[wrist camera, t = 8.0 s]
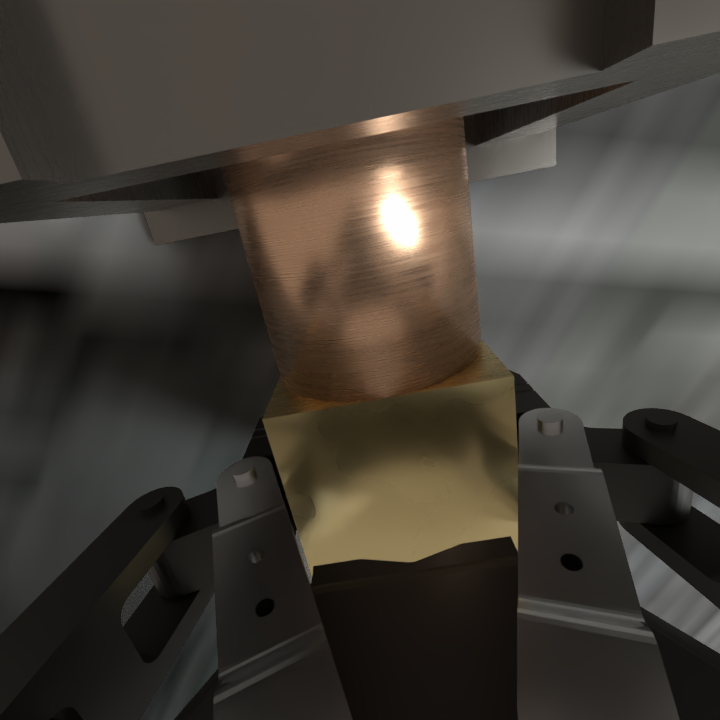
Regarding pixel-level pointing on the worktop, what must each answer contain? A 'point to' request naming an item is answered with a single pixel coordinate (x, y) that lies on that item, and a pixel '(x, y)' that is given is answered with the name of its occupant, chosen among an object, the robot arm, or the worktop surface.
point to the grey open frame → (305, 88)
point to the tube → (379, 346)
